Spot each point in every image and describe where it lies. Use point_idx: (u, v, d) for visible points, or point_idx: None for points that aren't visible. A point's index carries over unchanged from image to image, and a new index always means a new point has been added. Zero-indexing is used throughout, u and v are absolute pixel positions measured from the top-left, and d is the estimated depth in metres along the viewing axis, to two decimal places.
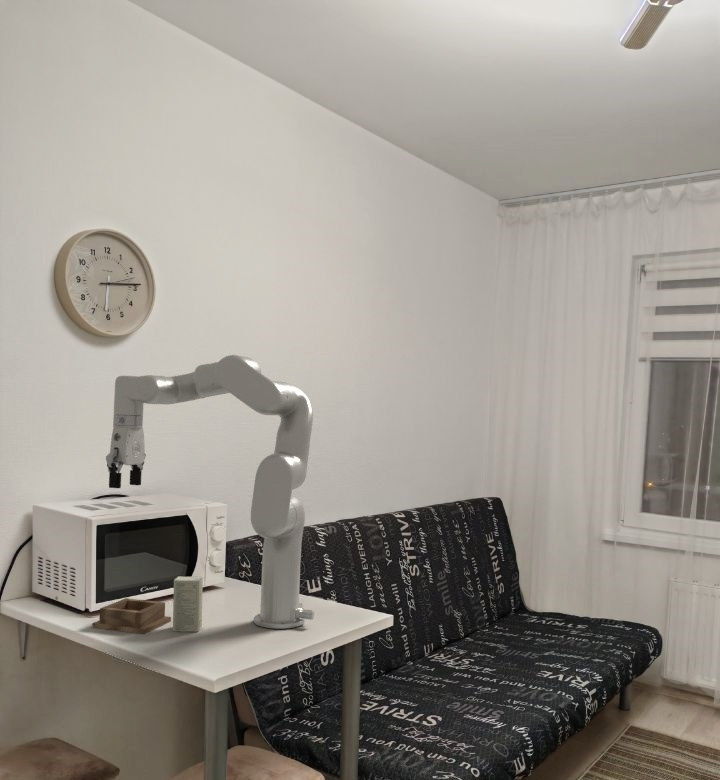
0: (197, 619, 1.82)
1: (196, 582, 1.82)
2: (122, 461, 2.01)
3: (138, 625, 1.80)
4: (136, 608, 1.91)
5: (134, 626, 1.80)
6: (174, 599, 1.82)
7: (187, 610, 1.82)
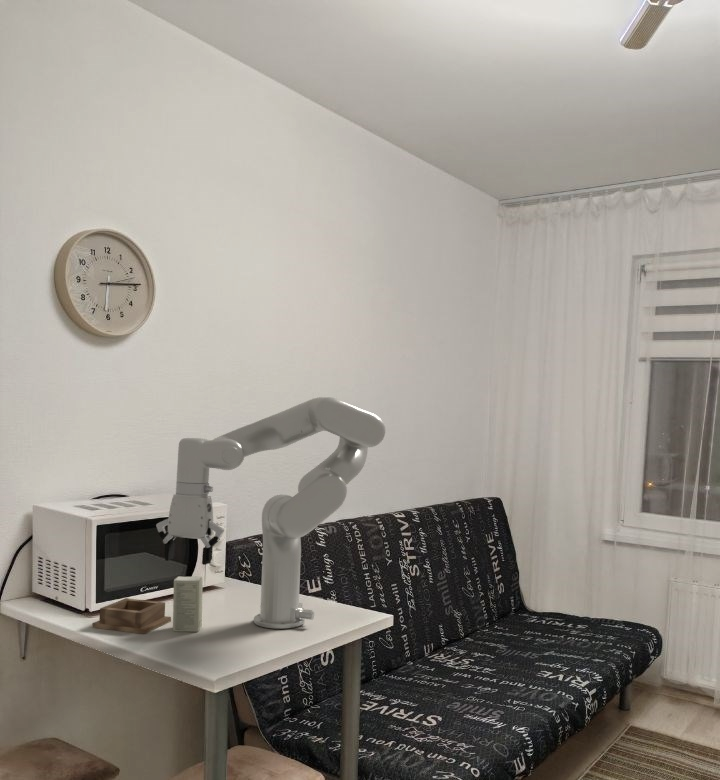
0: (197, 619, 1.82)
1: (196, 582, 1.82)
2: (212, 533, 1.85)
3: (138, 625, 1.80)
4: (136, 608, 1.91)
5: (134, 626, 1.80)
6: (174, 599, 1.82)
7: (187, 610, 1.82)
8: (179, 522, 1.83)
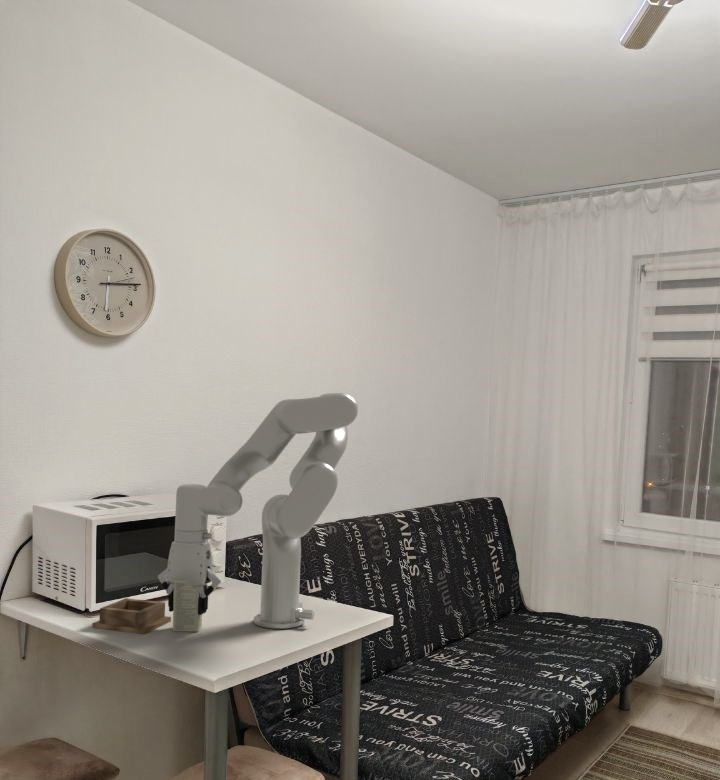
0: (197, 619, 1.82)
1: None
2: None
3: (138, 625, 1.80)
4: (136, 608, 1.91)
5: (134, 626, 1.80)
6: (174, 599, 1.82)
7: (187, 610, 1.82)
8: (178, 570, 1.83)
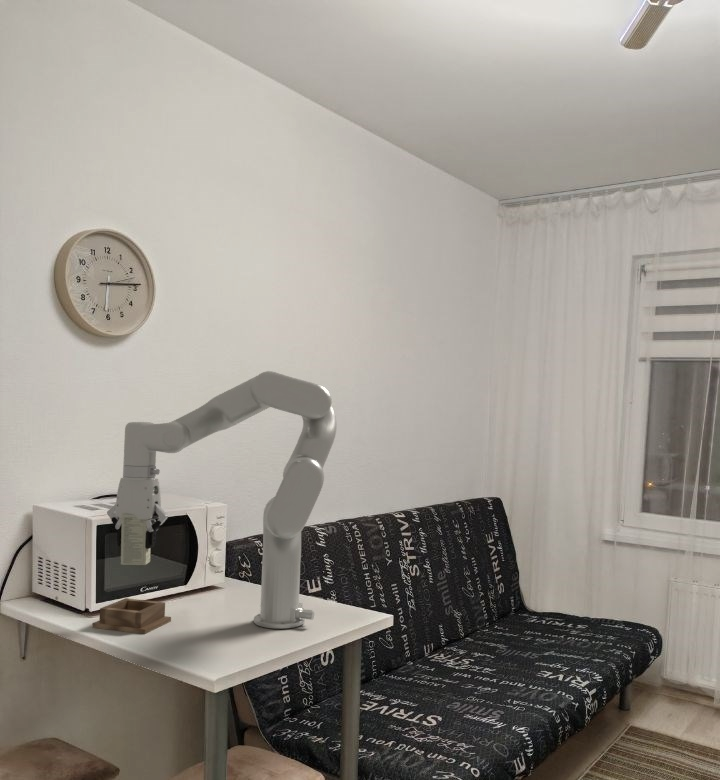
0: (144, 553, 1.85)
1: None
2: None
3: (138, 625, 1.80)
4: (136, 608, 1.91)
5: (134, 626, 1.80)
6: (122, 533, 1.85)
7: (135, 543, 1.85)
8: (126, 504, 1.86)
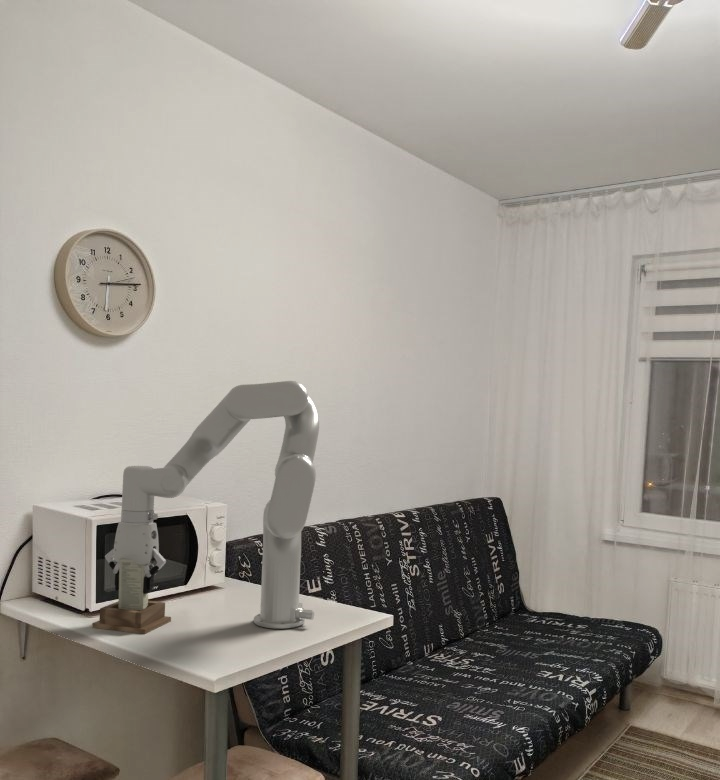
0: (142, 598, 1.85)
1: None
2: None
3: (138, 625, 1.80)
4: None
5: (134, 626, 1.80)
6: (120, 578, 1.85)
7: (133, 589, 1.85)
8: (124, 549, 1.85)
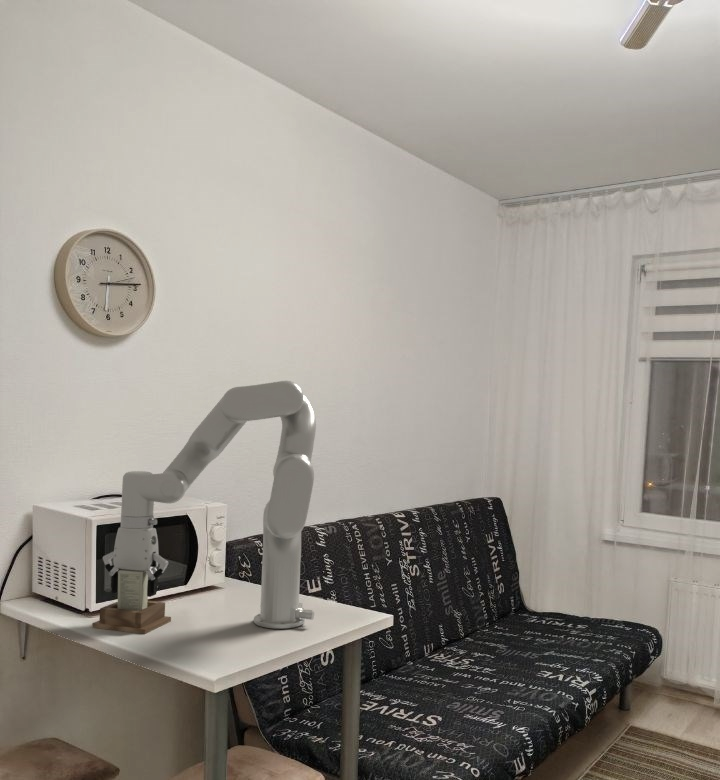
0: None
1: (140, 573, 1.85)
2: (157, 564, 1.88)
3: (138, 625, 1.80)
4: None
5: (134, 626, 1.80)
6: (118, 590, 1.85)
7: (131, 600, 1.85)
8: (124, 555, 1.85)
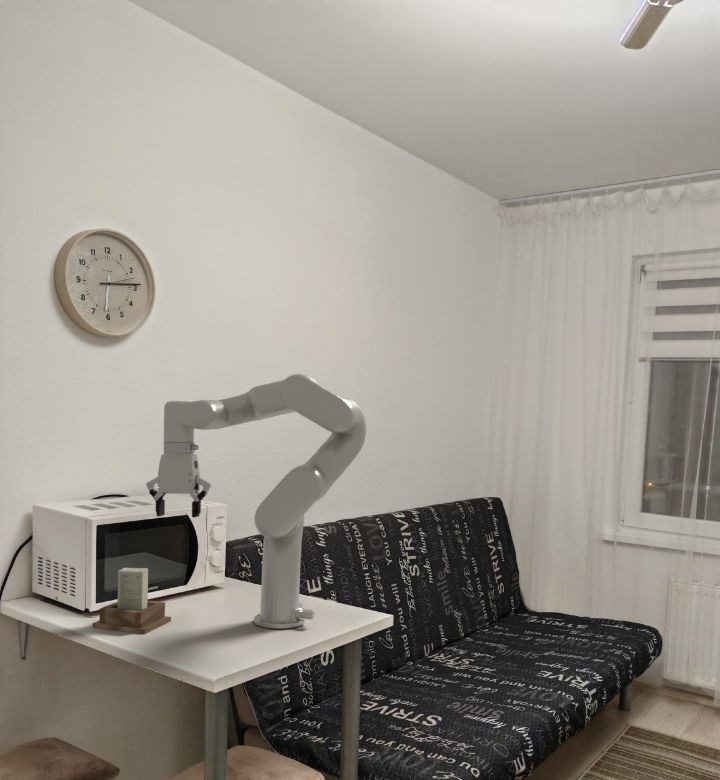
0: None
1: (139, 573, 1.85)
2: (199, 488, 1.99)
3: (138, 625, 1.80)
4: None
5: (134, 626, 1.80)
6: (118, 590, 1.85)
7: (131, 600, 1.85)
8: (168, 479, 1.96)
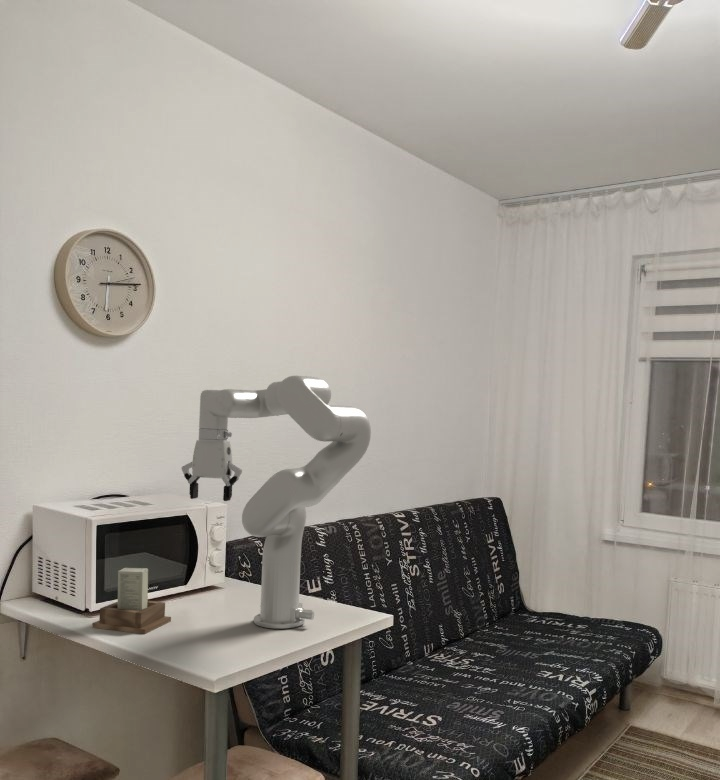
0: None
1: (140, 573, 1.85)
2: (231, 473, 2.08)
3: (138, 625, 1.80)
4: None
5: (134, 626, 1.80)
6: (118, 590, 1.85)
7: (131, 600, 1.85)
8: (202, 464, 2.06)
